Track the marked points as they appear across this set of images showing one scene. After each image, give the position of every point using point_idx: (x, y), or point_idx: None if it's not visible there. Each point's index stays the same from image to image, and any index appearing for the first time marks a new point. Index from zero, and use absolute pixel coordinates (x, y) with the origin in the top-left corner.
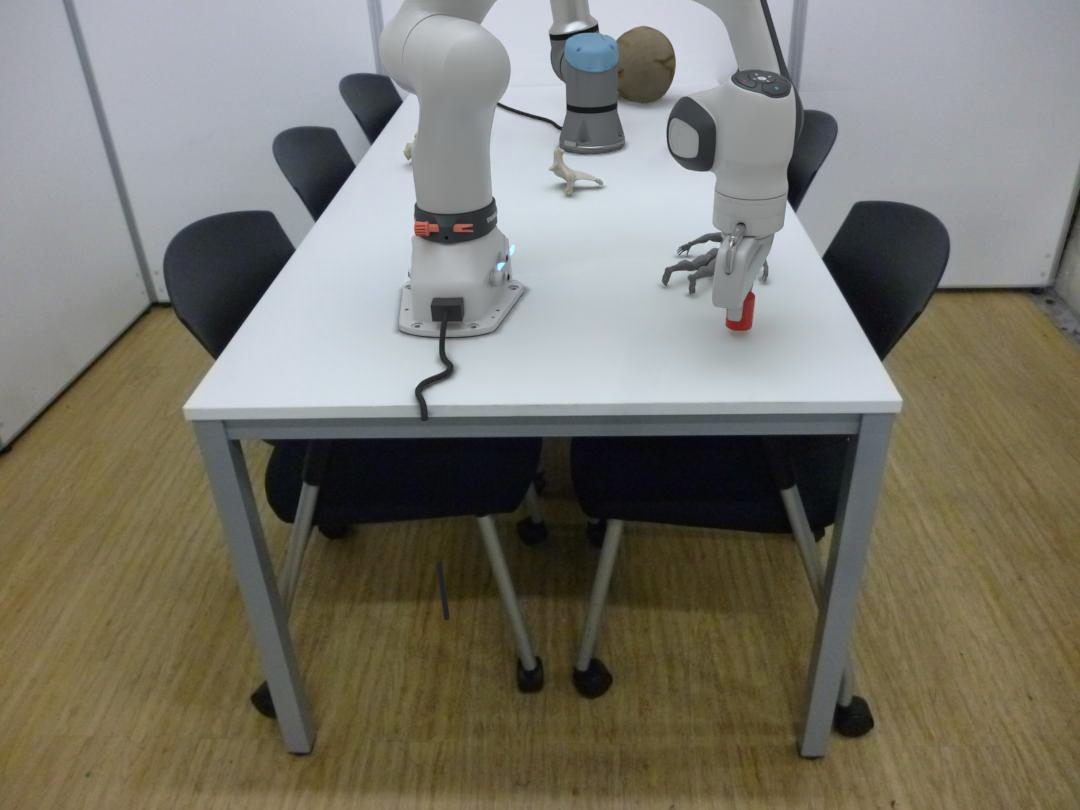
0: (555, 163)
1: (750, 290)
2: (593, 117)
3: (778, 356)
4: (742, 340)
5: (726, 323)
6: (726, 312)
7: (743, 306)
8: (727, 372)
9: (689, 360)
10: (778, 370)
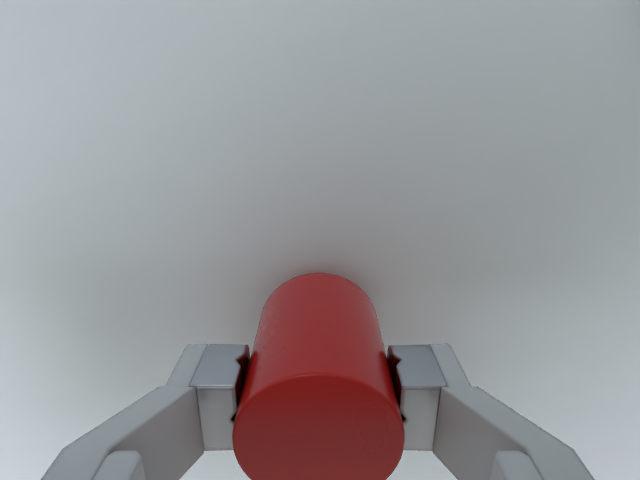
0: None
1: (438, 453)
2: None
3: None
4: None
5: (284, 288)
6: (303, 305)
7: (224, 449)
8: (7, 331)
9: (4, 180)
10: None
